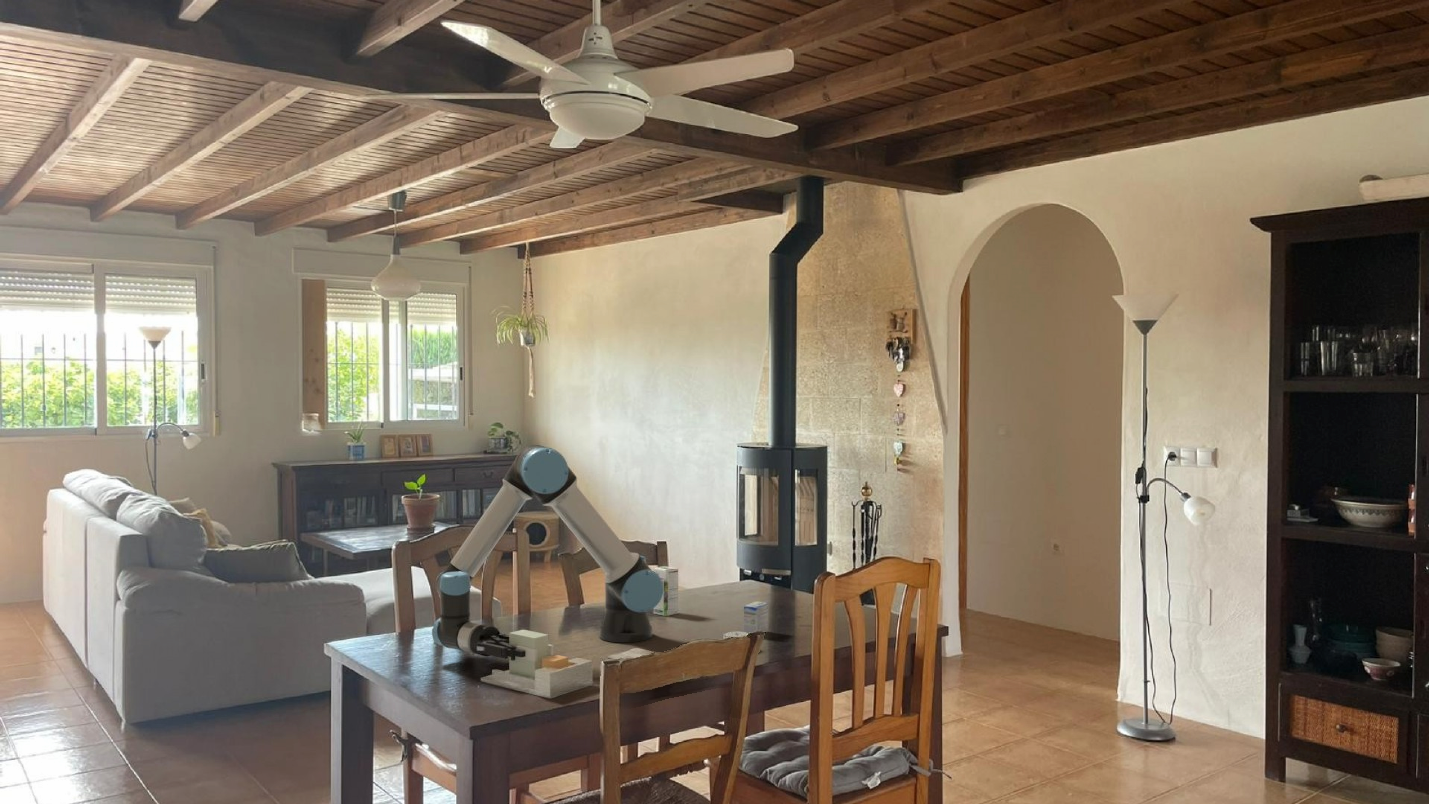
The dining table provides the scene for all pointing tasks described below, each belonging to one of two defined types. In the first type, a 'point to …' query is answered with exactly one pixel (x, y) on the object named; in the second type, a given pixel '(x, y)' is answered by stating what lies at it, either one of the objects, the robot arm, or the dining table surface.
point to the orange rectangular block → (555, 662)
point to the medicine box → (756, 617)
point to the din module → (529, 641)
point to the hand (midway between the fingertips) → (544, 653)
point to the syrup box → (668, 591)
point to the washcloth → (630, 654)
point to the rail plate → (547, 679)
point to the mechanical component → (734, 634)
